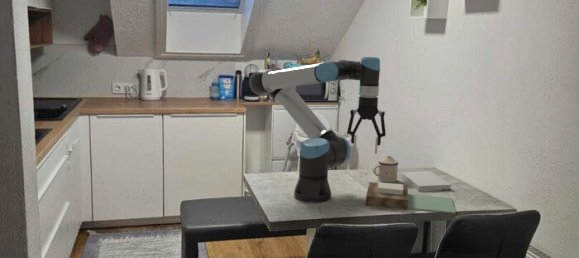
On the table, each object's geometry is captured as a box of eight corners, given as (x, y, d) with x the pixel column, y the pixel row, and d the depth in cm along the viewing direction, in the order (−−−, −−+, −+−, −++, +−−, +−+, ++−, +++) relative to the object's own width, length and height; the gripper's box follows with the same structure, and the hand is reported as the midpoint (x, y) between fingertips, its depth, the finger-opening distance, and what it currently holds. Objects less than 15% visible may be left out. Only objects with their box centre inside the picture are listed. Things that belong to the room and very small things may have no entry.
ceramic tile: (377, 192, 210) (377, 187, 210) (378, 186, 218) (378, 182, 218) (402, 194, 209) (403, 190, 208) (402, 189, 216) (403, 184, 216)
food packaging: (450, 191, 231) (429, 178, 250) (450, 184, 230) (430, 171, 249) (418, 193, 228) (400, 179, 247) (419, 186, 227) (400, 172, 247)
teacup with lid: (390, 176, 249) (392, 152, 247) (401, 182, 240) (402, 157, 238) (368, 178, 245) (369, 154, 243) (377, 184, 236) (379, 158, 234)
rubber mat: (407, 209, 204) (407, 207, 204) (406, 195, 221) (407, 193, 221) (455, 213, 200) (455, 212, 200) (451, 199, 218) (451, 197, 218)
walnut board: (365, 205, 206) (366, 196, 206) (368, 191, 226) (369, 182, 225) (407, 209, 203) (408, 200, 202) (406, 194, 222) (407, 185, 222)
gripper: (341, 95, 207) (338, 152, 211) (395, 99, 203) (391, 156, 207) (343, 93, 214) (340, 148, 218) (395, 96, 210) (391, 152, 214)
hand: (365, 152), depth 213 cm, fingers open, 8 cm apart
